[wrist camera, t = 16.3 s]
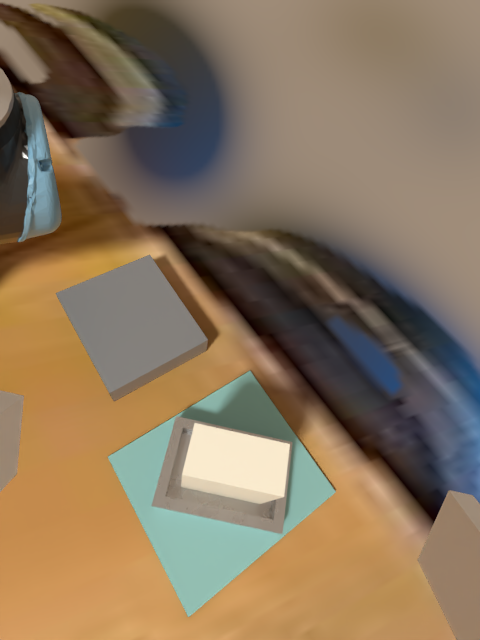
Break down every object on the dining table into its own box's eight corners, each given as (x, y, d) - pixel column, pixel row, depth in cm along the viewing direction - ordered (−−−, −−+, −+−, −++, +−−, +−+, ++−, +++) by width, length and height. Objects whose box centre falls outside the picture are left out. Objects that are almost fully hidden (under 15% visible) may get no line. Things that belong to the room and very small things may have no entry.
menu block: (259, 504, 37) (284, 497, 29) (181, 487, 37) (181, 474, 28) (265, 462, 39) (290, 444, 31) (191, 446, 39) (194, 422, 30)
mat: (188, 616, 33) (188, 617, 33) (108, 457, 38) (107, 456, 38) (334, 492, 40) (335, 491, 40) (249, 371, 45) (249, 370, 45)
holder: (276, 533, 37) (282, 533, 35) (152, 506, 37) (151, 505, 35) (286, 446, 41) (292, 442, 39) (176, 421, 41) (175, 416, 39)
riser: (113, 401, 41) (109, 393, 39) (62, 306, 46) (55, 293, 43) (206, 350, 46) (208, 339, 43) (151, 268, 50) (149, 254, 48)
